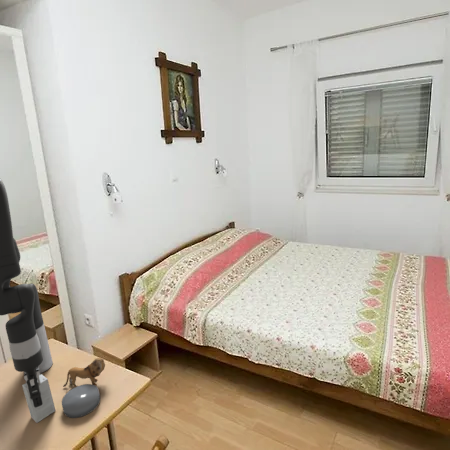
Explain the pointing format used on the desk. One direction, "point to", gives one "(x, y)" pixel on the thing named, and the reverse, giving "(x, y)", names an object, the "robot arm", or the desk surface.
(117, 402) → the desk surface
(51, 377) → the desk surface
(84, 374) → the lion figurine
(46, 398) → the skincare box
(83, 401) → the grey rounded flat disc
